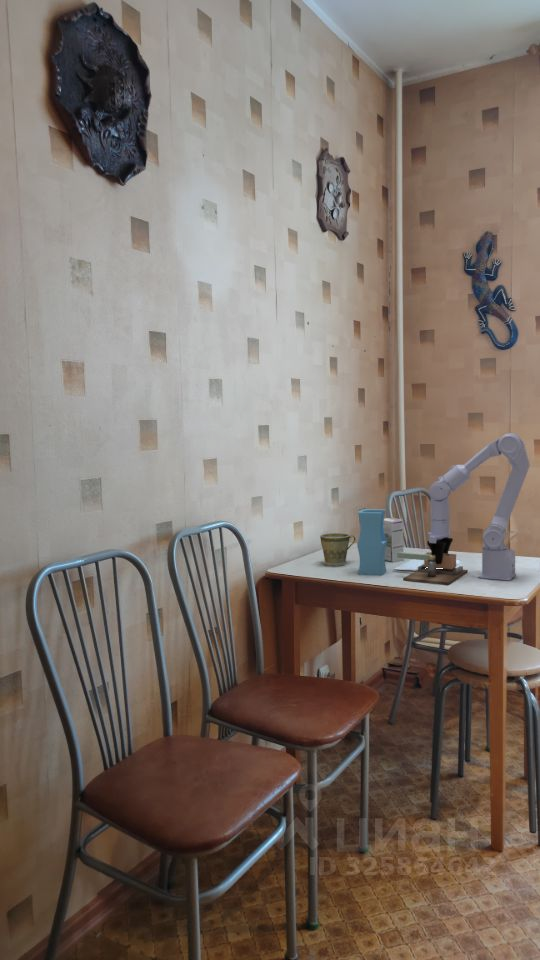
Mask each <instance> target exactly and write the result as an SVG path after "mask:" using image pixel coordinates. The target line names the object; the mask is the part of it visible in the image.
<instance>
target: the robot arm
mask: <svg viewBox="0 0 540 960" xmlns="http://www.w3.org/2000/svg"><path fill="white" fill-rule="evenodd" d="M525 445H526V444H525V443H524V441H523V440H522V438H521V437H520V436H519V435H518V434H516V433H513V432H507V433H505V434H503V435H502V436H500V437H499V438H497V439H495V440H493V441H492V442H490V443H489V444H487V445H485V446H484V447H483V448H482V449H481V450H479V451H478V452H477V453H476V454H475V455H473V457H471V458H470V459H469V460H468V461H467V462H465V463H464V464H456V465H452V466H451V467H449V469H450V470H448V471H447V472H446V473H445V474H444V475H442V476H439V477H438V480H437V481H434V482H433V483H432V484H431V485H430V487H429V490H428V493H429V496H430V531H429V532H427V534H426V535H427V536H428V540H427V543H426V544H427V546H428V548H429V550H430V552H432V555H435V561H436V564H441V563H442V558H443V553H446V554H449V551H450V547H451V545H452V543H453V541H454V539H453V538H452V537H451V536H452V534H451V532H452V531H451V530H450V504H449V503H450V501H449V500H450V499H449V496H450V495H451V492H455V491H456V490H457V489H459V488H460V487H461V486H462V485H464V484H465V483H466V482H467V481H469V480H470V477H471V473H472V472H473V471H474V470H476V469H477V468H478V467H480V466H481V465H482V464H484V462H486V461H487V460H489V459H490V458H492V457H499V456H501V455H503V456H505V458H507V460H508V462H509V464H510V465H511V471H510V473H509V476H508V478H507V481H506V483H505V486H504V489H503V491H502V493H501V496H500V499H499V502H498V505H497V507H496V509H495V512H494V514H493V518H492V520H491V522H490V524H489V525H488V526H487V528H486V529H485V530H484V532H483V534H482V536H481V537H482V538H481V539H482V540H481V541H482V543H483V545H482V546H481V558H482V559H481V564H482V565H481V567H482V569H481V571H482V572H481V573H480V574H479V575H478V576H477V578H479V579H490V580H499V581H500V580H501V581H511V580H512V579H513V578H515V577H516V575H517V574H516V553H515V550H514V549H510V548H508V546H507V545H506V543H504V542H505V540H506V537H507V531H506V529H507V525H508V524H509V520H510V518H511V515H512V513H513V510H514V508H515V505H516V503H517V500H518V497H519V495H520V493H521V490H522V487H523V485H524V482H525V479H526V476H527V474H528V471H529V468H530V460H529V456H528V453H527V449H526V446H525Z"/></svg>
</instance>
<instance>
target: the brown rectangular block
mask: <svg viewBox="0 0 540 960" xmlns="http://www.w3.org/2000/svg"><path fill="white" fill-rule="evenodd" d="M425 554H427V555H432V552H431V551H428V552H425ZM423 564H424V567H428V560H423ZM436 568H443V569H454V568H457V553H456V554H455V553H448V554H446V553H443V558H442V563H441V564H436Z"/></svg>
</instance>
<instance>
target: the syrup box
mask: <svg viewBox="0 0 540 960" xmlns="http://www.w3.org/2000/svg"><path fill="white" fill-rule="evenodd" d="M383 528H384V534H385V537H386V540H387V545H386V550H385V562H392V563H396V562H401V561H402V562H403V561H404V558H397V553H398V552H403V553H404V521H403V519H402V518H396V517H386V518H385V517H384V523H383Z"/></svg>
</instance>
